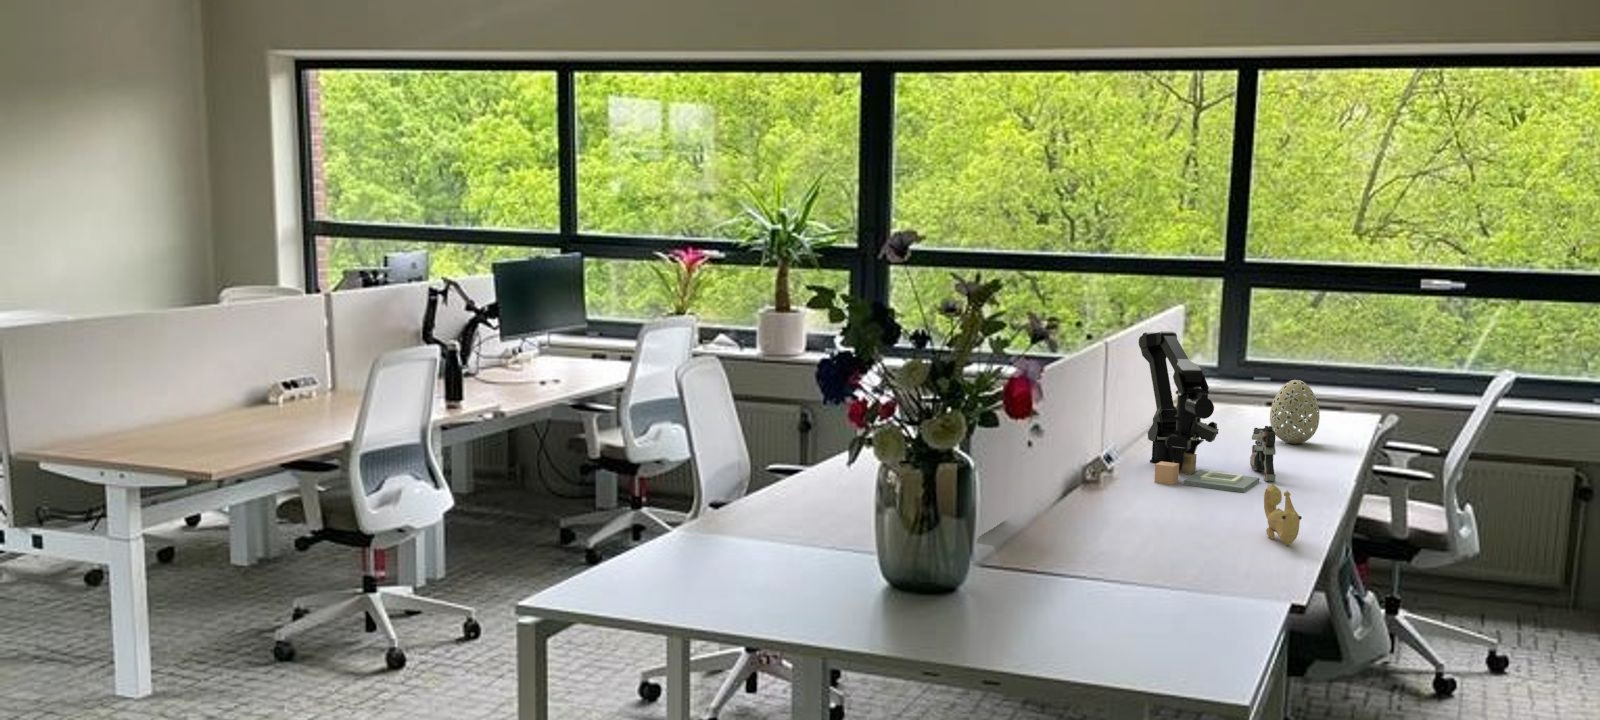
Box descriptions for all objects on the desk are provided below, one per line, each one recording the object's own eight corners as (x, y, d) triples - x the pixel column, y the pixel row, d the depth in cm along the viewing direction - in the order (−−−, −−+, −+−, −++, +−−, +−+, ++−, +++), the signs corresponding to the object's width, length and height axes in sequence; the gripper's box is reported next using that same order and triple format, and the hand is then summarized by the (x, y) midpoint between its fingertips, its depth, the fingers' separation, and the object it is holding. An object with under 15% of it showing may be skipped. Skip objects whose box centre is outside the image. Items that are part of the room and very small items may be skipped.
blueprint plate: (1183, 484, 385) (1183, 477, 385) (1200, 474, 399) (1201, 467, 399) (1243, 492, 377) (1244, 485, 377) (1259, 481, 391) (1259, 474, 390)
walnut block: (1172, 472, 402) (1173, 454, 401) (1178, 469, 406) (1178, 452, 405) (1190, 474, 399) (1191, 457, 398) (1195, 471, 403) (1196, 454, 403)
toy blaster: (1260, 479, 410) (1262, 426, 411) (1278, 481, 389) (1279, 426, 390) (1247, 478, 410) (1248, 426, 411) (1264, 480, 390) (1265, 425, 390)
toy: (1280, 479, 337) (1309, 498, 317) (1277, 530, 339) (1306, 551, 319) (1257, 479, 337) (1285, 497, 317) (1255, 529, 339) (1281, 551, 319)
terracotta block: (1154, 482, 388) (1155, 464, 387) (1160, 479, 392) (1161, 461, 392) (1172, 484, 385) (1173, 466, 385) (1178, 481, 390) (1179, 463, 389)
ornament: (1322, 442, 451) (1326, 379, 448) (1311, 449, 439) (1315, 385, 436) (1275, 437, 459) (1278, 375, 456) (1262, 444, 446) (1266, 380, 444)
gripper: (1206, 420, 388) (1203, 476, 390) (1225, 411, 404) (1222, 465, 406) (1166, 415, 394) (1163, 471, 396) (1186, 407, 410) (1183, 460, 412)
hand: (1184, 467), depth 402 cm, fingers open, 9 cm apart
